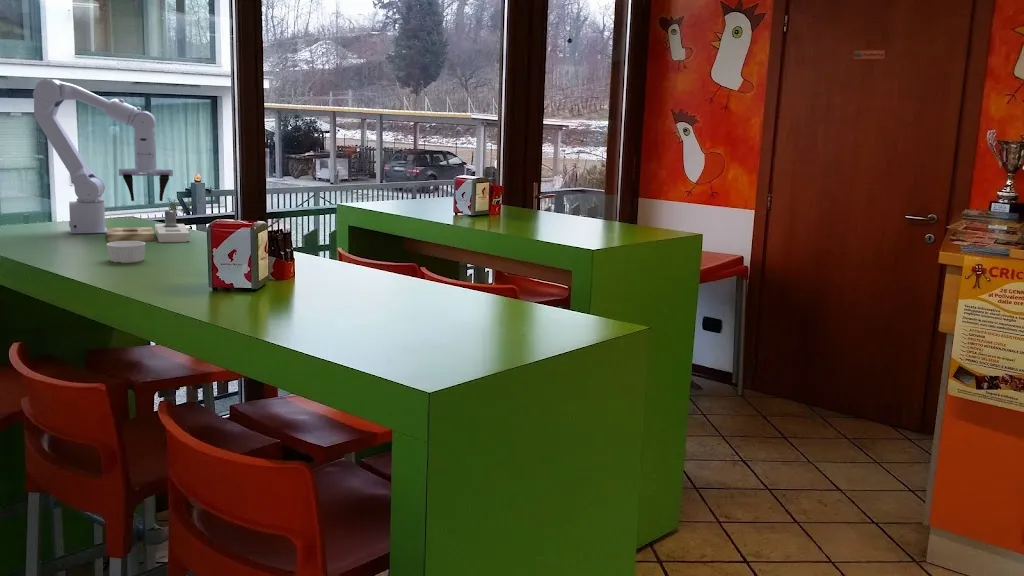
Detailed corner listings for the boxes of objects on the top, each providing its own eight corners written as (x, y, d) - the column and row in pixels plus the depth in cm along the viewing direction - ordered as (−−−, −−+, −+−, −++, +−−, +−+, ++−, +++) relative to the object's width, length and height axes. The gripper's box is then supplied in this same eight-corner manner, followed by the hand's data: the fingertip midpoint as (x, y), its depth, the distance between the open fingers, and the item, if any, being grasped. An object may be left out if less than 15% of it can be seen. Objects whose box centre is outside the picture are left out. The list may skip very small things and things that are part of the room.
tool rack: (159, 242, 252) (158, 233, 251) (155, 232, 268) (155, 224, 267) (189, 241, 255) (189, 233, 254) (183, 232, 271) (183, 223, 270)
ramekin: (107, 264, 219) (106, 246, 218) (107, 257, 227) (106, 240, 226) (146, 263, 223) (146, 245, 222) (145, 256, 231) (144, 240, 230)
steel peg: (165, 235, 263) (164, 211, 262) (165, 234, 266) (164, 210, 264) (176, 235, 264) (175, 211, 263) (176, 233, 267) (175, 210, 266)
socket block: (107, 241, 249) (107, 234, 249) (107, 234, 260) (106, 227, 259) (154, 240, 254) (154, 233, 253) (152, 234, 265) (151, 227, 264)
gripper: (118, 154, 256) (120, 202, 258) (173, 155, 261) (174, 202, 264) (117, 152, 262) (119, 199, 265) (171, 153, 268) (172, 199, 271)
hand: (146, 200), depth 265 cm, fingers open, 7 cm apart
